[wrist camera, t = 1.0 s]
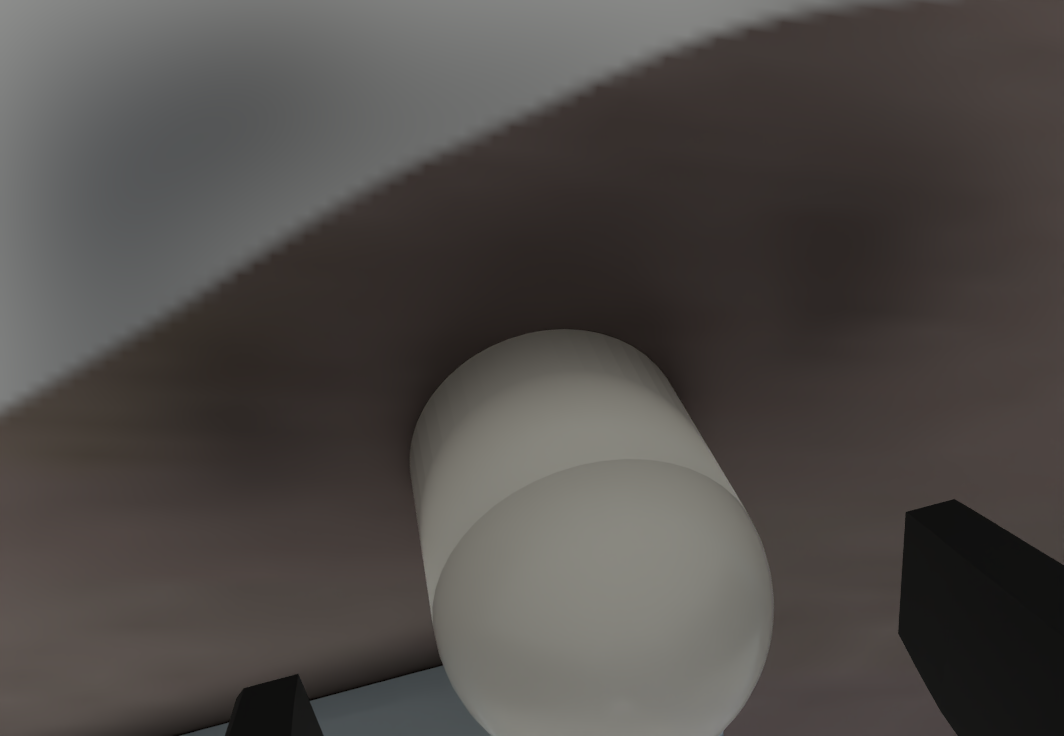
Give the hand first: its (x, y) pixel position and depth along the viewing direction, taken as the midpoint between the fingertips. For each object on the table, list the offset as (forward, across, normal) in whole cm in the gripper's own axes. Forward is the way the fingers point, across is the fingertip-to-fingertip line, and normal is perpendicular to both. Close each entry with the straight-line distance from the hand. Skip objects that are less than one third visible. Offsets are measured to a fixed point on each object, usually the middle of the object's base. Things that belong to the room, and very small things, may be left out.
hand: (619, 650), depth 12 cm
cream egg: (+4, 0, 0) cm, 4 cm away
